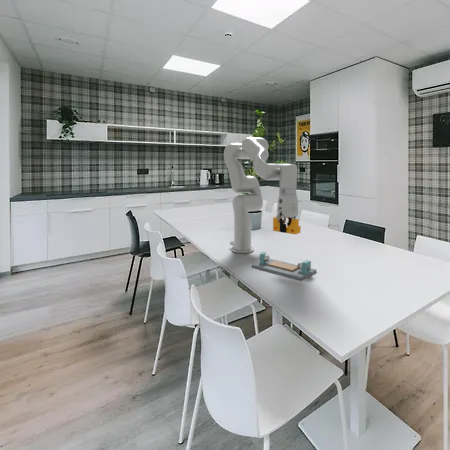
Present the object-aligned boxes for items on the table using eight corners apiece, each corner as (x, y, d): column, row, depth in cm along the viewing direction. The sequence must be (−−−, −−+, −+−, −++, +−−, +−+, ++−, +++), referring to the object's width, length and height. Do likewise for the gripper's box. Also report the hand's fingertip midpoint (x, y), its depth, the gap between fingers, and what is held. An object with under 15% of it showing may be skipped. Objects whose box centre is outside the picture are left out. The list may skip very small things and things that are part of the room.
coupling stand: (251, 267, 146) (251, 254, 145) (268, 260, 156) (268, 248, 155) (300, 280, 129) (301, 266, 127) (316, 272, 139) (317, 258, 138)
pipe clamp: (300, 232, 139) (300, 218, 138) (295, 234, 136) (295, 220, 135) (278, 229, 148) (278, 216, 146) (273, 230, 145) (273, 217, 143)
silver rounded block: (297, 270, 135) (297, 263, 135) (300, 268, 138) (300, 261, 137) (306, 272, 132) (306, 265, 132) (309, 270, 135) (310, 264, 134)
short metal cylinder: (259, 261, 147) (259, 255, 147) (260, 260, 150) (260, 254, 149) (268, 262, 146) (268, 256, 145) (269, 260, 149) (269, 254, 148)
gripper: (282, 193, 130) (281, 235, 134) (305, 191, 141) (304, 230, 145) (269, 192, 136) (268, 232, 139) (292, 190, 147) (291, 228, 150)
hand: (286, 231), depth 142 cm, fingers closed on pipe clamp, 4 cm apart
